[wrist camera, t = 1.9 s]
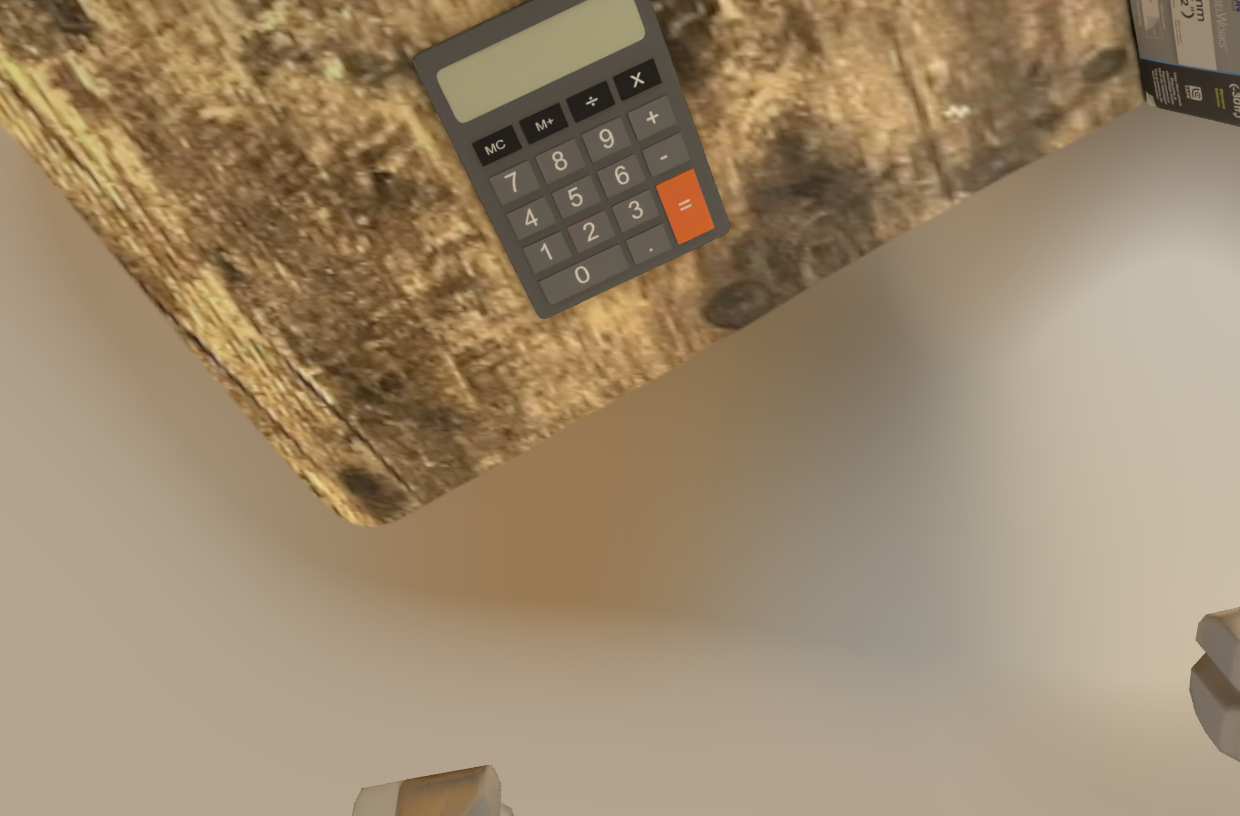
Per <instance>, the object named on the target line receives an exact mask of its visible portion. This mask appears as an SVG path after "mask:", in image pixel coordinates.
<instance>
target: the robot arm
mask: <svg viewBox="0 0 1240 816" xmlns="http://www.w3.org/2000/svg"><path fill="white" fill-rule="evenodd" d="M1196 641H1197V642H1198V643H1199V645H1200V646H1201V647H1202V648H1203V649H1204V650H1205V652H1206V653H1205V654H1204V655H1203V656H1202V657H1201V658H1200V659H1199V661H1198V662H1197V663H1196V664H1195V665H1194V666H1193V667H1192V668H1191V677H1190V689H1189V690H1190V694H1191V698H1192V702H1193V705H1194V709H1195V713H1196V715H1197V717H1198V719H1199V721H1200V723H1201V725H1202V727H1203V729H1204V730H1205V732H1206V734H1207V735H1208V736H1209V738H1210V739H1211V740H1212V742H1213V743H1214V744H1215V746H1216V747H1217V748H1218V750H1219V751H1220V752H1222V753H1224V754H1226V755H1228V756H1230V757H1231V758H1233V759H1235V760H1237V761H1239V762H1240V607H1239V608H1234V609H1230V610H1225V611H1221V612H1216V613H1212V614H1207V615H1205V616H1204V618H1203V619H1202V620H1201V621H1200V622H1199V624H1198V629H1197V635H1196ZM352 816H514V814H513V812H512V809H511V808H510V807H508V806H506V805H504V804H502V803H501V782H500V780H499V778H498V776H497V774H496V771H495V769H494V767H493V765H486V766H480V767H474V768H469V769H464V770H458V771H452V772H447V773H441V774H435V775H429V776H425V777H418V778H413V779H407V780H403V781H398V782H393V783H388V784H383V785H377V786H372V787H367V788H362V789H361V791H360V793H359V795H358V797H357V799H356V801H355V803H354V808H353V814H352Z"/></svg>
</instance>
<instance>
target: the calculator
mask: <svg viewBox="0 0 1240 816" xmlns="http://www.w3.org/2000/svg"><path fill="white" fill-rule="evenodd" d="M413 62H414V66H415V69H416V71H417V73H418V75H419V77H420V79H421V81H422V83H423V85H424V87H425V89H426V91H427V93H428V95H429V97H430V99H431V101H432V103H433V105H434V107H435V109H436V111H437V113H438V115H439V117H440V119H441V121H442V123H443V125H444V127H445V129H446V132H447V134H448V136H449V138H450V140H451V142H452V144H453V146H454V148H455V150H456V152H457V154H458V156H459V158H460V160H461V162H462V164H463V166H464V168H465V170H466V172H467V174H468V176H469V178H470V180H471V182H472V184H473V186H474V188H475V190H476V192H477V194H478V196H479V198H480V200H481V202H482V204H483V206H484V208H485V210H486V212H487V214H488V216H489V218H490V220H491V222H492V224H493V226H494V228H495V230H496V232H497V234H498V236H499V238H500V240H501V243H502V245H503V247H504V249H505V251H506V253H507V255H508V257H509V259H510V261H511V263H512V265H513V267H514V269H515V271H516V273H517V275H518V277H519V279H520V281H521V283H522V285H523V287H524V289H525V291H526V293H527V295H528V297H529V299H530V301H531V303H532V305H533V307H534V309H535V311H536V313H537V315H538V316H539V317H540V318H541V319H546V318H549V317H551V316H554V315H556V314H558V313H560V312H562V311H564V310H566V309H568V308H570V307H573V306H575V305H577V304H579V303H581V302H583V301H585V300H587V299H590V298H592V297H594V296H596V295H598V294H600V293H602V292H604V291H606V290H609V289H611V288H613V287H615V286H617V285H619V284H621V283H623V282H626V281H628V280H630V279H632V278H634V277H636V276H638V275H640V274H642V273H645V272H647V271H649V270H651V269H653V268H655V267H657V266H659V265H662V264H664V263H666V262H668V261H670V260H672V259H674V258H676V257H678V256H681V255H683V254H685V253H687V252H689V251H691V250H693V249H695V248H698V247H700V246H702V245H704V244H706V243H708V242H710V241H712V240H714V239H717V238H719V237H721V236H723V235H725V234H726V233H728V232H729V229H730V224H729V221H728V218H727V215H726V213H725V210H724V207H723V204H722V201H721V199H720V196H719V193H718V190H717V187H716V184H715V182H714V179H713V176H712V173H711V170H710V167H709V165H708V162H707V159H706V156H705V153H704V150H703V148H702V145H701V142H700V139H699V136H698V133H697V131H696V128H695V125H694V122H693V119H692V117H691V114H690V111H689V108H688V105H687V102H686V100H685V97H684V94H683V91H682V88H681V85H680V83H679V80H678V77H677V74H676V71H675V68H674V66H673V63H672V60H671V57H670V54H669V51H668V49H667V46H666V43H665V40H664V37H663V35H662V32H661V29H660V26H659V23H658V20H657V18H656V15H655V12H654V9H653V6H652V3H651V1H650V0H529V1H527V2H525V3H523V4H521V5H519V6H516V7H514V8H512V9H510V10H508V11H506V12H504V13H502V14H500V15H497V16H495V17H493V18H491V19H489V20H487V21H485V22H483V23H480V24H478V25H476V26H474V27H472V28H470V29H468V30H466V31H463V32H461V33H459V34H457V35H455V36H453V37H451V38H449V39H446V40H444V41H442V42H440V43H438V44H436V45H434V46H432V47H430V48H427V49H425V50H423V51H421V52H419V53H418V54H416V55H415V56H414V59H413Z"/></svg>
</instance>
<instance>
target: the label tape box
mask: <svg viewBox="0 0 1240 816" xmlns="http://www.w3.org/2000/svg"><path fill="white" fill-rule="evenodd" d="M1130 4H1131V10H1132V16H1133V21H1134V26H1135V32H1136V38H1137V43H1138V49H1139V56H1140V62H1141V67H1142V72H1143V79H1144V84H1145V91H1146V96H1147V103H1148V105H1149V106H1153V107H1157V108H1161V109H1165V110H1169V111H1174V112H1178V113H1183V114H1187V115H1191V116H1195V117H1200V118H1204V119H1208V120H1213V121H1217V122H1221V123H1225V124H1230V125H1234V126H1238V127H1240V0H1130Z"/></svg>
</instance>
